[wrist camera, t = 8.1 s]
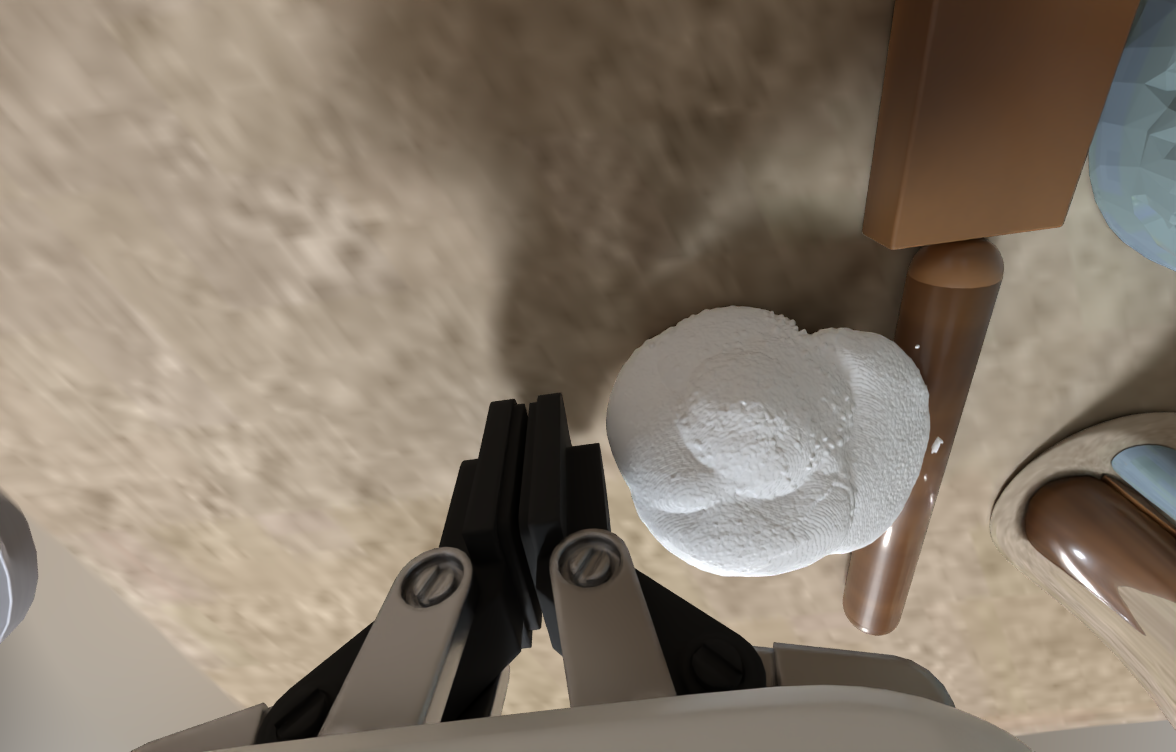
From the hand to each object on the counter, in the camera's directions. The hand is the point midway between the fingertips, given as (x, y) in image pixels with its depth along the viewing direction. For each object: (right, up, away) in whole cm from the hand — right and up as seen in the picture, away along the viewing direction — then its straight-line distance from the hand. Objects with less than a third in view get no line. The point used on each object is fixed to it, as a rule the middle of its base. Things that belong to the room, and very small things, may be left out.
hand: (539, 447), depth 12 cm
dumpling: (+5, +2, +1) cm, 5 cm away
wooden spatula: (+9, +2, 0) cm, 9 cm away
